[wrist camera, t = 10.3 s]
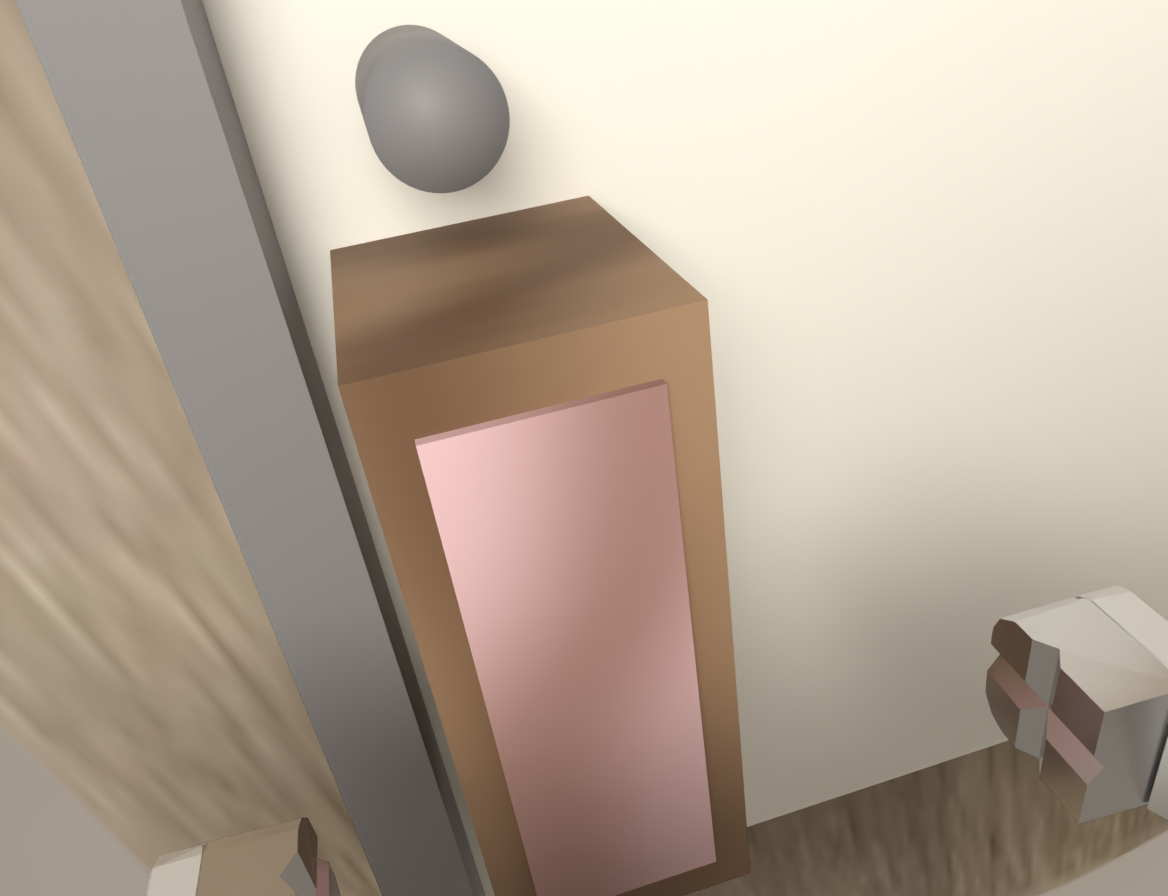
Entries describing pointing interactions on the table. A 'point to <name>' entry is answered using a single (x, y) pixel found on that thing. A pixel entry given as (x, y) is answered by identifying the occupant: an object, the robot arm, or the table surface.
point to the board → (736, 316)
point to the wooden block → (556, 539)
